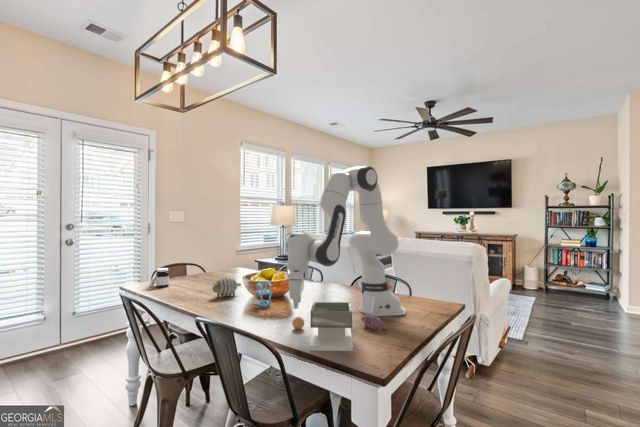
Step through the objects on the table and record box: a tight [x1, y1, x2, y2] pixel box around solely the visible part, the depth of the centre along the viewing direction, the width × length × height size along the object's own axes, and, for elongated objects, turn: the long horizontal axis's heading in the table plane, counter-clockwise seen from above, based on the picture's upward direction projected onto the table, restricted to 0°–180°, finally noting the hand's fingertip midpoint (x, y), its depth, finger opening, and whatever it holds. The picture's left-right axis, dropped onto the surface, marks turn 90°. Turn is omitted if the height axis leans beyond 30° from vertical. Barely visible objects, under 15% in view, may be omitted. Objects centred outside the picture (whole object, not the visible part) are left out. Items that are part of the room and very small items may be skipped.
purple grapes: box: [360, 313, 387, 331], centre depth 137 cm, size 10×5×7 cm, turn 46°
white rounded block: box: [149, 267, 170, 289], centre depth 216 cm, size 12×11×12 cm
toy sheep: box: [212, 276, 242, 299], centre depth 190 cm, size 11×17×11 cm, turn 133°
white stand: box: [309, 328, 354, 352], centre depth 131 cm, size 32×15×8 cm, turn 177°
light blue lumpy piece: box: [253, 280, 273, 308], centre depth 173 cm, size 8×8×12 cm
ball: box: [291, 316, 305, 330], centre depth 137 cm, size 5×5×5 cm
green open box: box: [310, 301, 353, 329], centre depth 130 cm, size 30×15×6 cm, turn 177°
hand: (297, 305), depth 136 cm, fingers open, 8 cm apart
